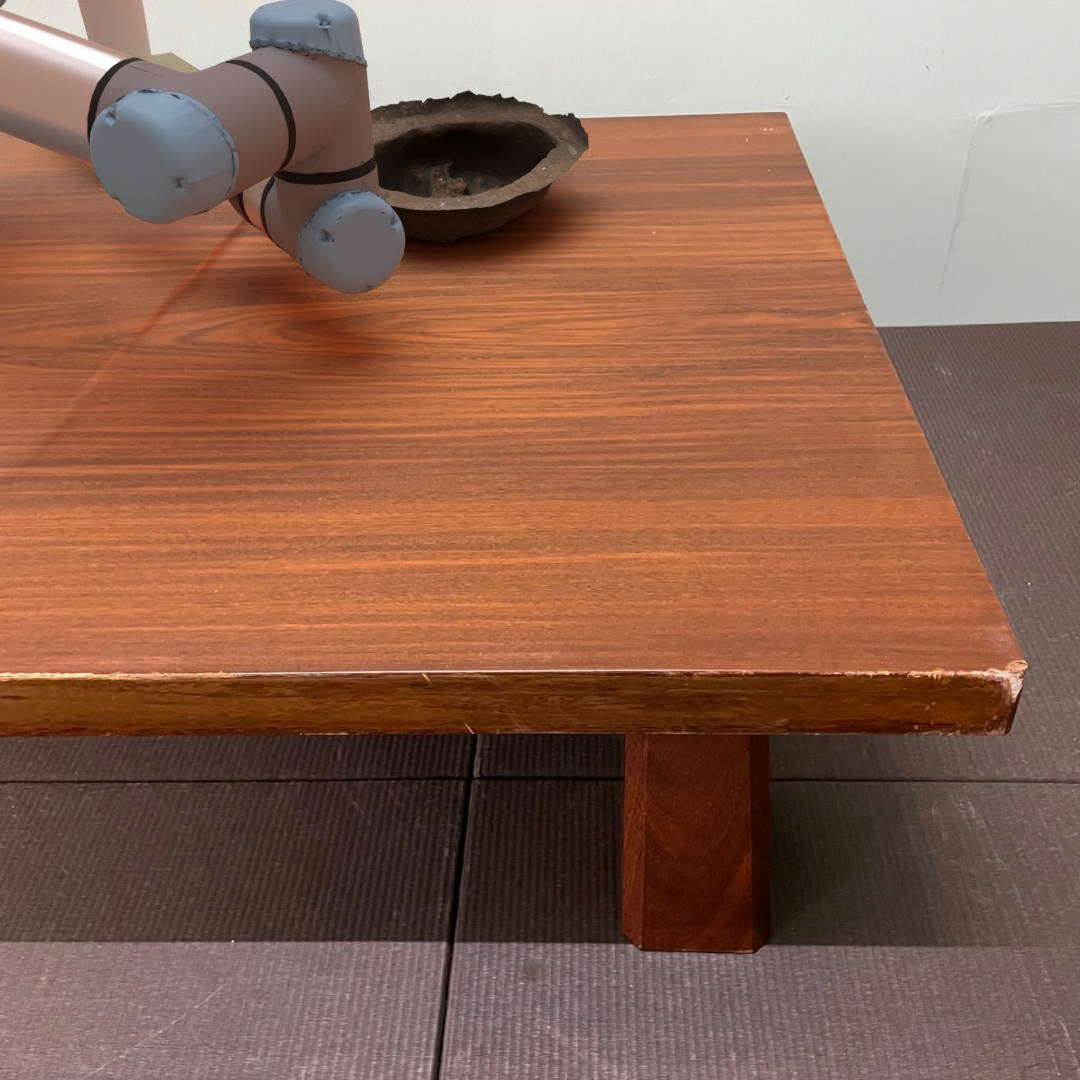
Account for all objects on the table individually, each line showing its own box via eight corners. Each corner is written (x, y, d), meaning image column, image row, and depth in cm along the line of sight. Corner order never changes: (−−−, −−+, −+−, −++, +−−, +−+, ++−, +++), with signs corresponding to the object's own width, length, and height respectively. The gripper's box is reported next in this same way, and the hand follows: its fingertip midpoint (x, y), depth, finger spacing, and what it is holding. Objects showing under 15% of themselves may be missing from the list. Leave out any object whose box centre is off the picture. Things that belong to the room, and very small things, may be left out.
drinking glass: (98, 70, 127) (74, -31, 121) (160, 66, 128) (140, -34, 122) (91, 86, 122) (66, -19, 116) (156, 81, 123) (135, -23, 117)
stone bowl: (532, 160, 128) (533, 74, 123) (621, 258, 110) (628, 162, 105) (310, 187, 122) (299, 98, 116) (366, 296, 104) (357, 196, 98)
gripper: (143, 271, 92) (75, 196, 107) (425, 206, 102) (328, 145, 117) (120, 176, 87) (53, 111, 102) (417, 118, 98) (317, 67, 113)
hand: (200, 129), depth 110 cm, fingers open, 13 cm apart
